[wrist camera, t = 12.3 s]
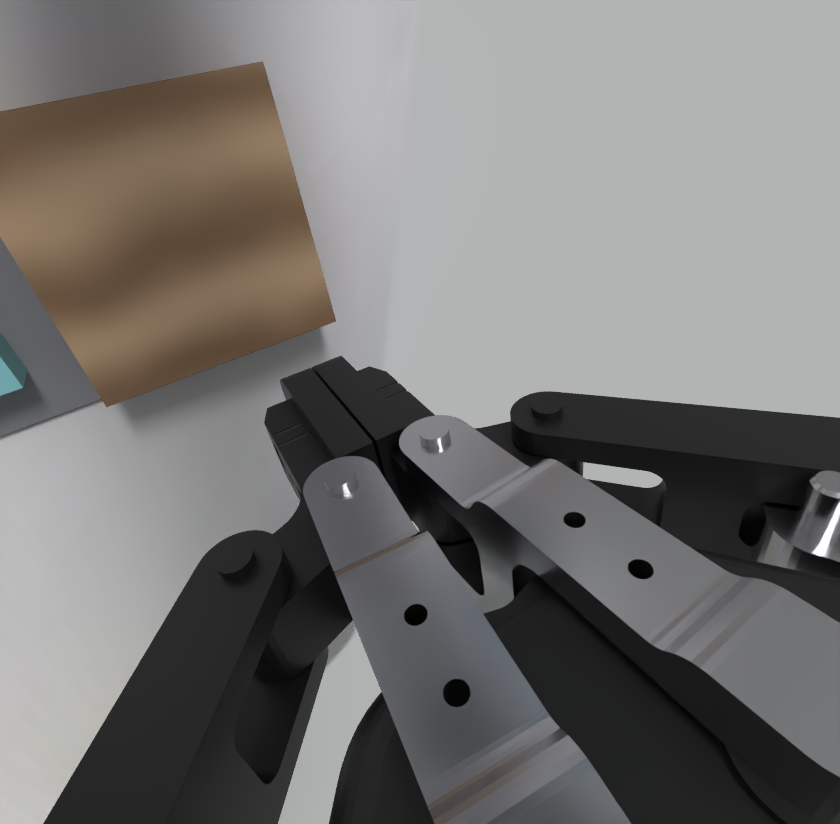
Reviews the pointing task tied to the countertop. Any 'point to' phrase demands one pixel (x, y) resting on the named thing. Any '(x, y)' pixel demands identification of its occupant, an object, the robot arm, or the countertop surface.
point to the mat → (36, 355)
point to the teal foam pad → (10, 368)
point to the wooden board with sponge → (161, 226)
